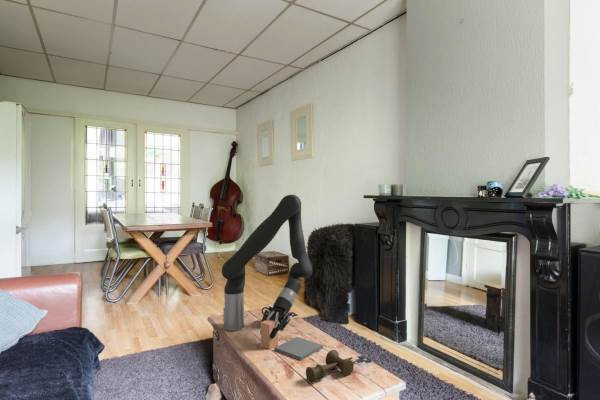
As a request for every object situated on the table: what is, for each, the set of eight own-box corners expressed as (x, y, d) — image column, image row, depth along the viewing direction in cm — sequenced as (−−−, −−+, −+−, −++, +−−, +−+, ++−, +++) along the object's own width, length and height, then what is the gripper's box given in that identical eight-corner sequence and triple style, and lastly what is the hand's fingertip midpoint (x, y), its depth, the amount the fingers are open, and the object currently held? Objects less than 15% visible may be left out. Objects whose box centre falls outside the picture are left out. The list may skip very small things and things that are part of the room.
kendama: (300, 377, 117) (343, 360, 128) (317, 391, 109) (362, 371, 120) (300, 360, 117) (343, 344, 128) (317, 373, 109) (361, 354, 120)
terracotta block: (261, 346, 142) (260, 322, 142) (269, 342, 146) (269, 319, 146) (269, 349, 139) (269, 324, 139) (277, 345, 143) (277, 321, 143)
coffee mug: (290, 324, 167) (289, 304, 167) (279, 329, 160) (279, 308, 160) (271, 320, 173) (271, 300, 173) (260, 325, 166) (260, 305, 166)
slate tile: (274, 350, 138) (274, 347, 138) (297, 339, 148) (297, 336, 148) (301, 360, 129) (301, 357, 129) (322, 347, 139) (322, 345, 139)
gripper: (269, 293, 153) (249, 327, 143) (293, 298, 144) (274, 335, 134) (277, 302, 157) (259, 336, 147) (301, 308, 148) (283, 344, 138)
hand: (266, 335), depth 141 cm, fingers closed on terracotta block, 5 cm apart
